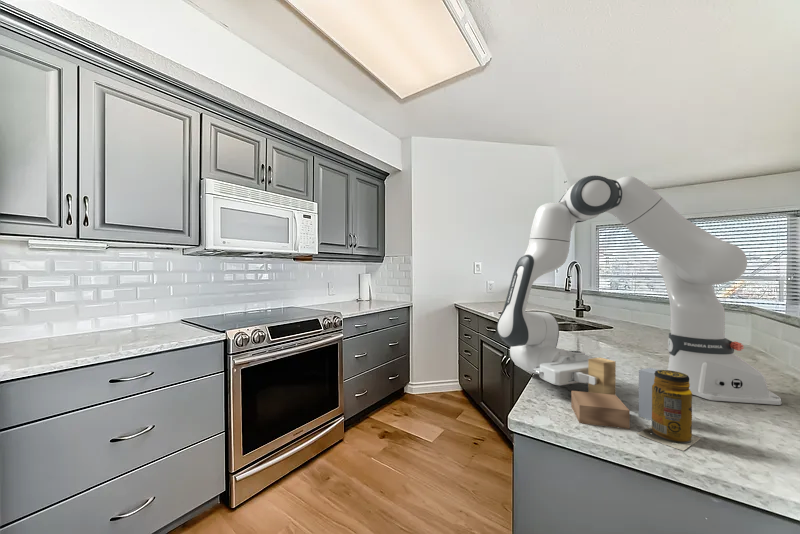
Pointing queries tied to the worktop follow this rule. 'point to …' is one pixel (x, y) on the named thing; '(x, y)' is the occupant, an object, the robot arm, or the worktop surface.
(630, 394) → the worktop surface
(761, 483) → the worktop surface
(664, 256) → the robot arm
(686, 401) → the condiment
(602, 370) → the oak pillar
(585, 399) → the walnut plinth
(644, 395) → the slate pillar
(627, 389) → the worktop surface
